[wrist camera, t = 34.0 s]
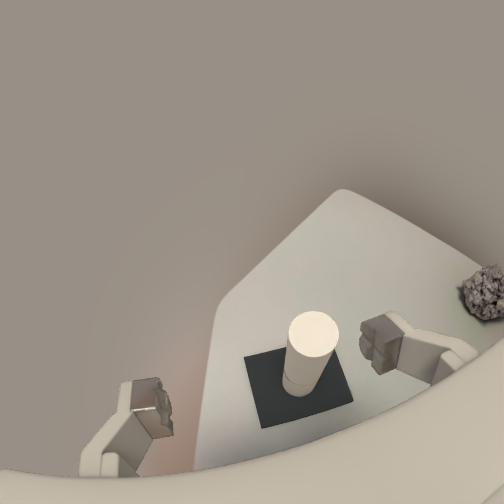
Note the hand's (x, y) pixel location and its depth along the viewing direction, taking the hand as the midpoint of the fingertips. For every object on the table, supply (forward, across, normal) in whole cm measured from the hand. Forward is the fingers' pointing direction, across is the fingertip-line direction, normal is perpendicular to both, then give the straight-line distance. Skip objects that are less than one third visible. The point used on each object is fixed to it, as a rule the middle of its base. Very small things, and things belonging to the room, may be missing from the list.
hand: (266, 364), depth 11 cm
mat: (+17, -6, +22) cm, 29 cm away
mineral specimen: (+16, -42, +22) cm, 50 cm away
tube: (+17, -6, +22) cm, 28 cm away
